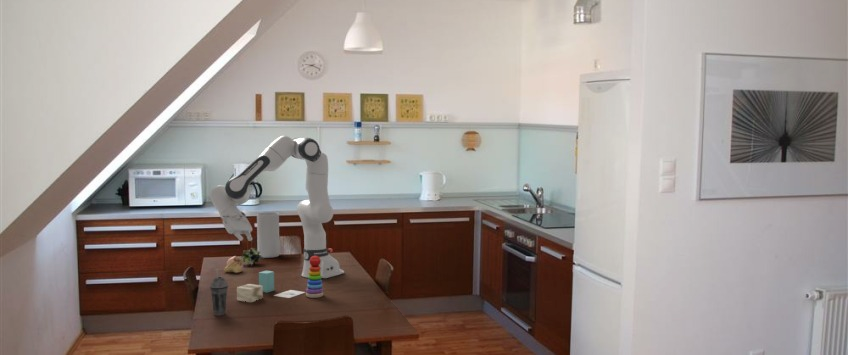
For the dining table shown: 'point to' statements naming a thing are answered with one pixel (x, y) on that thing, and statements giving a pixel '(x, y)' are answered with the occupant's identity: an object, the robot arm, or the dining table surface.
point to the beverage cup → (219, 294)
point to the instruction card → (289, 294)
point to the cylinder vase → (268, 234)
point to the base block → (249, 292)
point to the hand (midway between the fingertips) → (246, 240)
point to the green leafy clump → (251, 256)
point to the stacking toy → (314, 279)
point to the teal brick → (266, 280)
